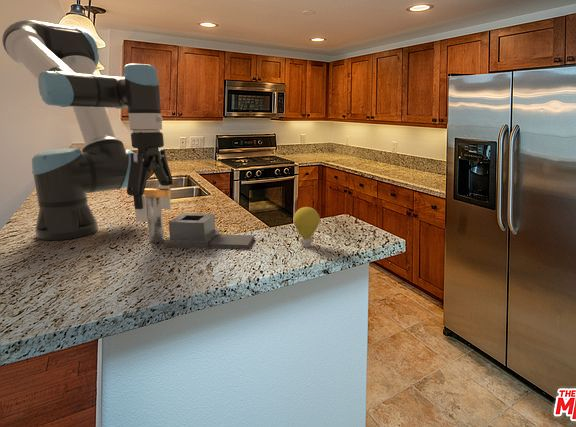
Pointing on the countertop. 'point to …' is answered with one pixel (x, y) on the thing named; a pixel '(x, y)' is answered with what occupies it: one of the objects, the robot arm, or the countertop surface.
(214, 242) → the mat
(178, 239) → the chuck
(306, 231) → the light bulb
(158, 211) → the key
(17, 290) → the countertop surface
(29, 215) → the countertop surface
